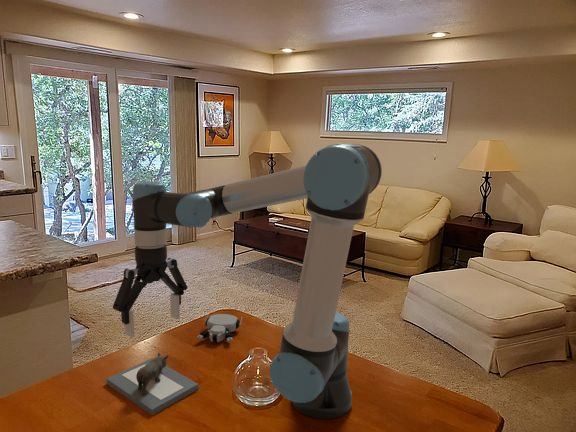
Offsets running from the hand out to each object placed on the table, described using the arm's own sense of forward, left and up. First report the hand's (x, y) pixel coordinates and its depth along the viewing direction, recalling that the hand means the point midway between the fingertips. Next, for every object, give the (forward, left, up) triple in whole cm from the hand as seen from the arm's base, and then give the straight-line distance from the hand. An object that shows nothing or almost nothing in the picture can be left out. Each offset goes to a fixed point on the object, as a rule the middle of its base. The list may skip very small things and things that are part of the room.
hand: (153, 326), depth 111 cm
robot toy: (+9, -32, -17) cm, 37 cm away
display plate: (0, +1, -17) cm, 17 cm away
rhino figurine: (0, 0, -15) cm, 15 cm away
